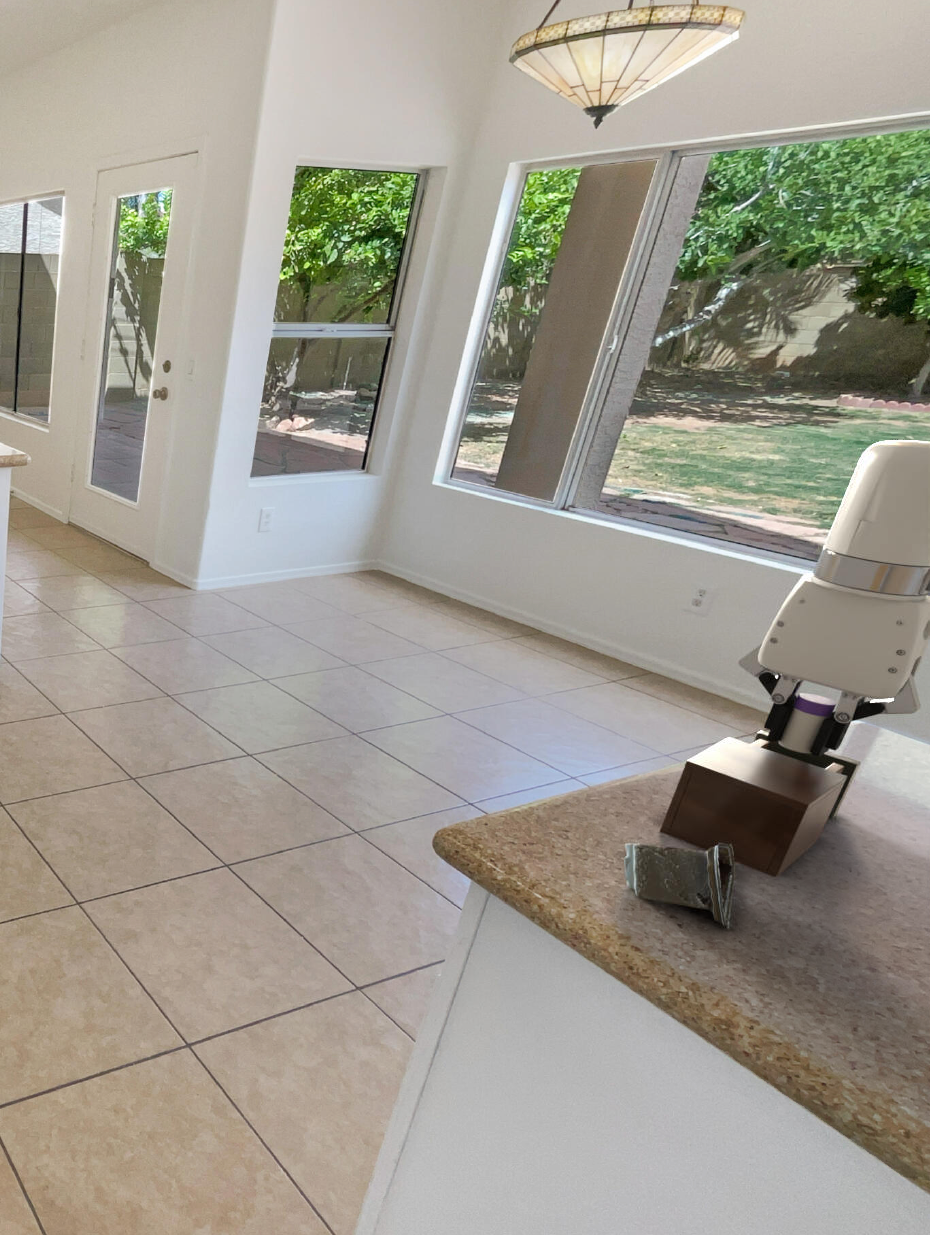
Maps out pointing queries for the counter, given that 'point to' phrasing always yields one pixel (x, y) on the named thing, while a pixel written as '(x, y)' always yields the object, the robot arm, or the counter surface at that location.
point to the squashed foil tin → (683, 876)
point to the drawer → (816, 764)
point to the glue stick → (806, 722)
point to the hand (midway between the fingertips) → (797, 743)
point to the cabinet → (752, 804)
